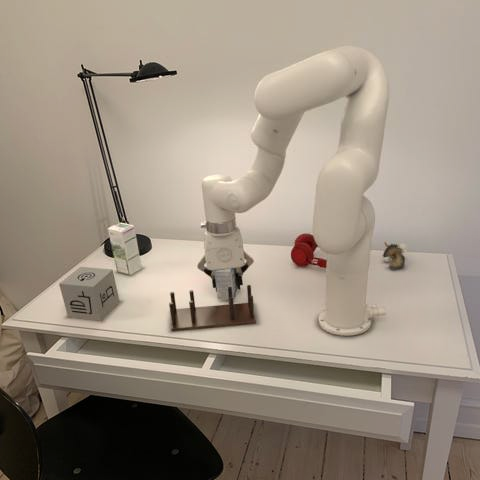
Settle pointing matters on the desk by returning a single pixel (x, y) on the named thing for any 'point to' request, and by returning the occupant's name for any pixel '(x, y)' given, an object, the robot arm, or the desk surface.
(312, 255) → the headphones
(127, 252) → the syrup box
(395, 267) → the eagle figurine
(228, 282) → the medicine box
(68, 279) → the icon cube
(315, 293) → the desk surface
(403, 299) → the desk surface
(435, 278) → the desk surface
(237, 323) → the plate rack
